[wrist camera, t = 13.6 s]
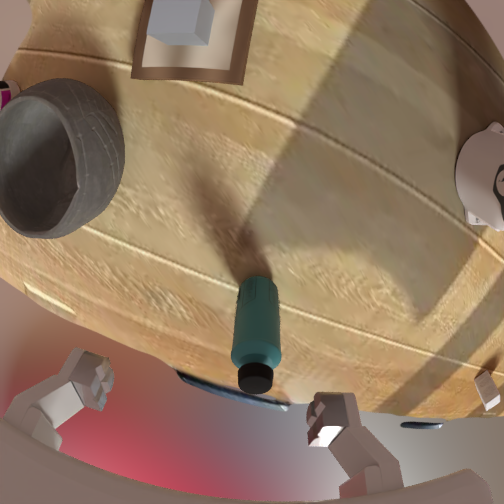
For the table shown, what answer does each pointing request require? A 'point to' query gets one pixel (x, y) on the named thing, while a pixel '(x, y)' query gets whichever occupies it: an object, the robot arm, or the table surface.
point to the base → (199, 48)
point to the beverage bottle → (256, 334)
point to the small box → (487, 390)
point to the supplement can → (7, 91)
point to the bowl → (58, 158)
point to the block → (181, 22)
